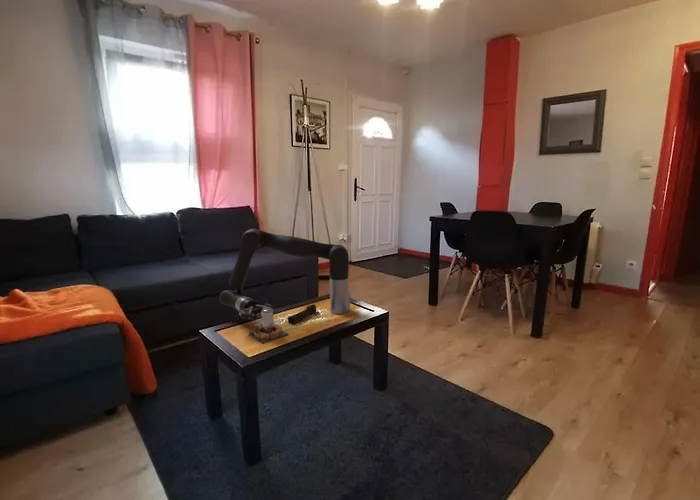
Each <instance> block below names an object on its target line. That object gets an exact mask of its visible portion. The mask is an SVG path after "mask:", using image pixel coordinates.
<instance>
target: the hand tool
mask: <svg viewBox="0 0 700 500" xmlns="http://www.w3.org/2000/svg"><path fill="white" fill-rule="evenodd" d="M316 313H317V306H316V305H315V304H311V305H308V306H306V308H305V309H303V310H301V311H299V312H297V313H294V314H293V315H290V316H289V315H288V317H287V322H288V324H290V323H291V324H290V325H294V324H296V323H297V322H299V321H300V320H303V319H305V318H306V317H309V315H311V316H313V315H315V314H316ZM312 314H313V315H312Z"/></svg>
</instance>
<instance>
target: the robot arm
mask: <svg viewBox="0 0 700 500" xmlns="http://www.w3.org/2000/svg"><path fill="white" fill-rule="evenodd" d="M258 248H267V249H272V250H275V251H277V252H279V253H282V254H285V255H288V256H292V257H296V258H319V259H325V260H328V261H329V262H328V263H329V267H328V268H329V303H330V304H329V306H330V308H329V310H330V313H332V314H336V315H341V314H347V313H349V311H351V292H350V291H349V271H350V270H349V266H350V265H349V263H350V262H349V260H350V259H349V253H348V250H347V248H346V247H345V246H344V245H341V244H332V243H331V244H330V243H322V242H318V241H314V240H311V239H306V238H302V237H297V236H291V235H290V236H289V235H285V234H284V235H283V234H276V233H271V232H267V231H263V230H261V229H257V228H250V229H248V230H246V231H245V232H244V233H243V234H242V236H241V240H240V247H239V251H238V252H239V253H238V256H237V259H236V262H235V264H234V267H233V269H232V272H231V276H230V277H229V280H228V285H229V287H231V288H232V289H235V290H231V289H230V290H227V289H226V290H223V291H221V293H219V297H218V298H219V301H220V303H221V304H222V305H224V306H226V307H230V308H232V309H235V310H237V311H238V316H239V317H240V318H242V319H244V320H247V319H251V320H252V321H257V315H259V314H260V315H261V311H262V309H264V308H272V309H273V316H274V315H275V310H274V305H271V303H270V304H269V303H266V302H265V303H264V305H262V304H259V303H258V301H257V300H255V299H252V298H250V297H248V296H245V295H243V293H244V291H243V290H244V284H245V282H246V279H247V276H248V273H249V269H250V265H251V261H252V259H253V256H254V254H255V253H256V251H257V249H258Z"/></svg>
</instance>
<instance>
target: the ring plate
mask: <svg viewBox="0 0 700 500" xmlns="http://www.w3.org/2000/svg"><path fill="white" fill-rule="evenodd" d="M248 335H249V336H250V337H252V338H253V339H255V340H257V341H258V342H260V343H261V344H265V343H268V342H271V341H274V340H278V339H281V338H284V337H287V336H289V333H287V332H286V331H283V328H282V327H281V326H280V325H278V324H274V332H271V333H262V325H260V326H257V327H256V328H255V329H254V331H252V332H250V333H248Z"/></svg>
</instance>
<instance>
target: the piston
mask: <svg viewBox="0 0 700 500" xmlns="http://www.w3.org/2000/svg"><path fill="white" fill-rule="evenodd" d="M273 310H274V308H273V309H272V308H264V309H262V311H261V314H260V315H261V319H260V320H261V326H262V333H271V332H274V325H275V320H274V315H273Z"/></svg>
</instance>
